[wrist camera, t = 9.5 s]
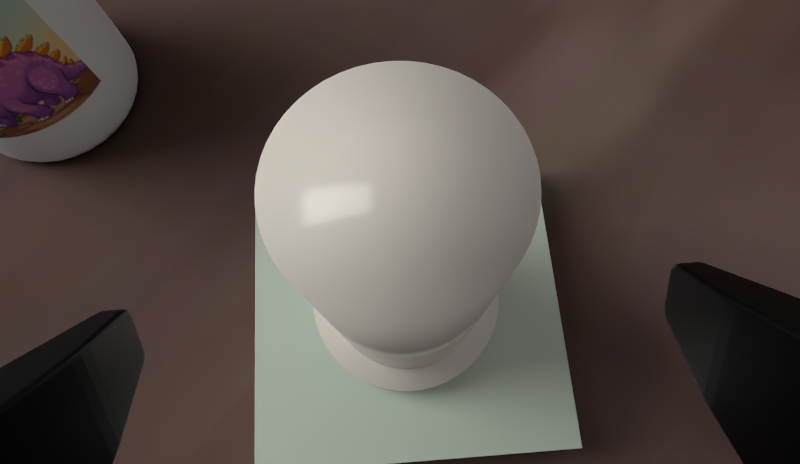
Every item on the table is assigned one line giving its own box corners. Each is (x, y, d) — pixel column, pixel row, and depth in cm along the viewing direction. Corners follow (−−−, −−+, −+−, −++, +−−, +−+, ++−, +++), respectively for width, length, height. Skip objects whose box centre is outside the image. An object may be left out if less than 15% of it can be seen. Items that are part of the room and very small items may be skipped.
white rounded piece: (527, 278, 20) (648, 139, 10) (430, 430, 19) (450, 458, 8) (385, 187, 21) (357, -23, 11) (283, 323, 20) (137, 229, 9)
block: (563, 443, 21) (582, 447, 18) (272, 467, 21) (254, 474, 18) (521, 175, 24) (532, 150, 22) (270, 195, 24) (255, 173, 22)
